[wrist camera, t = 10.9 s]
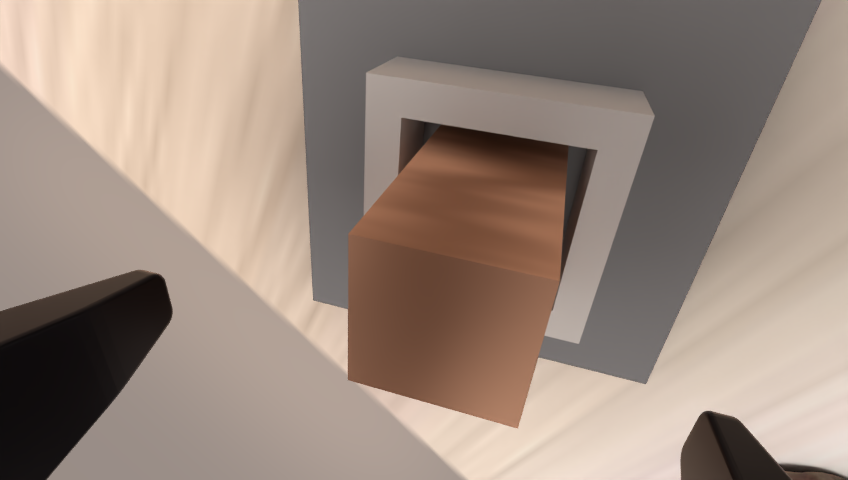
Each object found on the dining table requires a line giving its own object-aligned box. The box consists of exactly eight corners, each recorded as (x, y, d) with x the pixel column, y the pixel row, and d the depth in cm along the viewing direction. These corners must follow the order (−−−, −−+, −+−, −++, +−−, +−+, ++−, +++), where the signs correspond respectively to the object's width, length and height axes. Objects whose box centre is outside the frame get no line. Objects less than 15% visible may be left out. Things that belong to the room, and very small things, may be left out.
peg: (569, 140, 17) (560, 280, 10) (542, 247, 19) (517, 428, 12) (445, 119, 18) (348, 233, 10) (434, 224, 20) (347, 380, 13)
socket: (820, -32, 14) (896, -29, 10) (643, 368, 22) (654, 440, 19) (308, -78, 17) (241, -87, 14) (322, 289, 25) (282, 339, 22)
